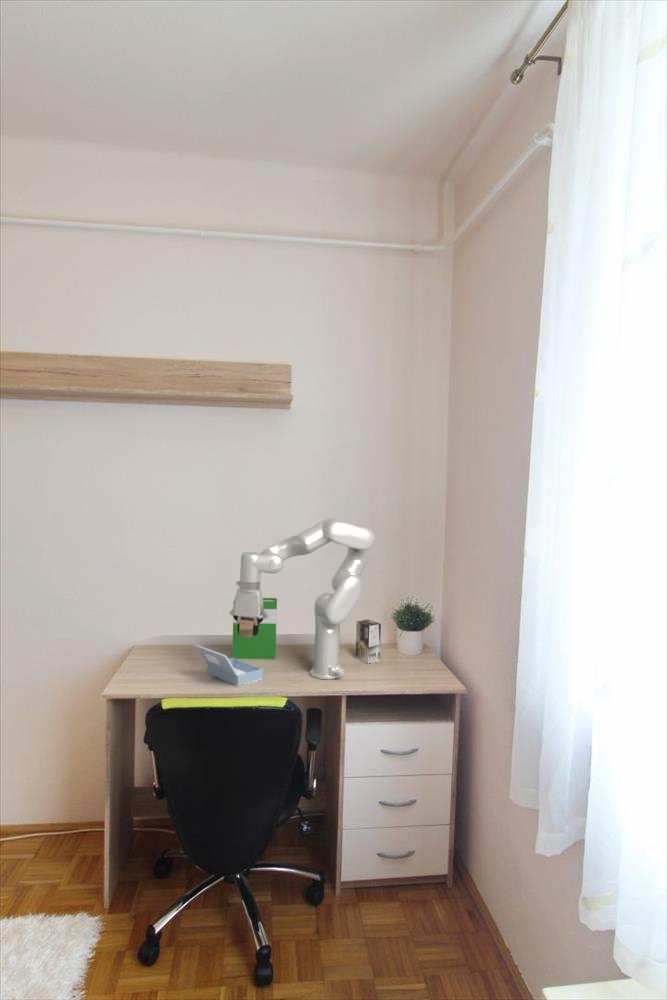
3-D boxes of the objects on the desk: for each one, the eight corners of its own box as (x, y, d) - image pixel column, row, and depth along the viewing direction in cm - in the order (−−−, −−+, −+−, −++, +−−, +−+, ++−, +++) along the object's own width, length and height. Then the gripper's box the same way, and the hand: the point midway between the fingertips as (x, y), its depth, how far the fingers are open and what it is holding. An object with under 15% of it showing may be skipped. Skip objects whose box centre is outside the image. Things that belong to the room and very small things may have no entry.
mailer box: (262, 679, 251) (263, 668, 251) (237, 686, 243) (237, 675, 242) (232, 667, 264) (233, 657, 263) (207, 674, 255) (208, 664, 255)
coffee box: (380, 662, 277) (381, 623, 276) (368, 664, 273) (369, 625, 272) (367, 656, 285) (368, 618, 283) (354, 658, 281) (356, 620, 280)
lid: (226, 655, 238) (224, 656, 237) (237, 675, 242) (236, 676, 242) (196, 644, 250) (195, 645, 250) (208, 663, 255) (207, 664, 254)
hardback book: (232, 658, 275) (233, 601, 273) (233, 653, 282) (234, 597, 281) (275, 659, 276) (276, 602, 275) (275, 653, 284) (276, 598, 282)
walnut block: (251, 637, 245) (252, 621, 245) (239, 636, 246) (239, 619, 246) (256, 634, 250) (257, 618, 249) (243, 632, 251) (244, 617, 251)
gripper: (224, 585, 245) (222, 634, 246) (268, 589, 241) (266, 639, 242) (232, 581, 252) (230, 629, 254) (275, 586, 248) (272, 634, 250)
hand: (247, 633), depth 248 cm, fingers closed on walnut block, 5 cm apart
